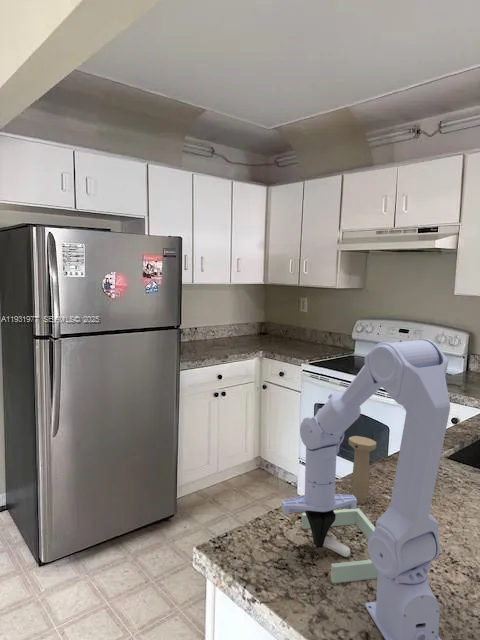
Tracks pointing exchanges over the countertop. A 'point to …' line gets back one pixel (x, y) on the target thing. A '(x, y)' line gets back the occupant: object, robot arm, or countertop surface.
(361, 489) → the handle
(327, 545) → the small white plastic part
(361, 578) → the light green u-shaped bracket
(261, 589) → the countertop surface
